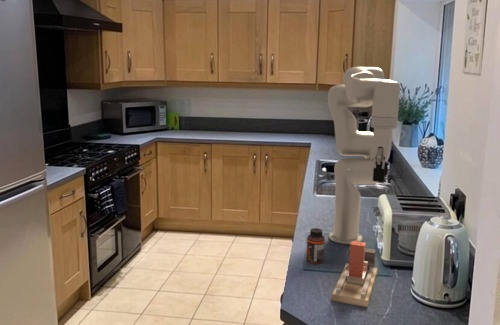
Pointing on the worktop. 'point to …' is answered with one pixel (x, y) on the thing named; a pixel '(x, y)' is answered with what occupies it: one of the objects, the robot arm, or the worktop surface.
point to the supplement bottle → (315, 246)
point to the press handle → (357, 263)
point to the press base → (357, 292)
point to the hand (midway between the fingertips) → (380, 177)
